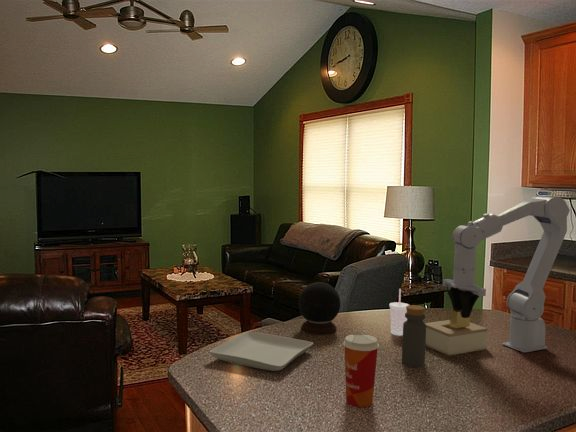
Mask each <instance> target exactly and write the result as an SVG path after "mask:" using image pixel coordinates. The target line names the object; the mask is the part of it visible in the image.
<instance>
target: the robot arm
mask: <svg viewBox="0 0 576 432" xmlns="http://www.w3.org/2000/svg"><path fill="white" fill-rule="evenodd" d="M570 211H571V210H570V207H569V206H568V204H567V202H566V200H565V199H563V198H562V197H560V196H544V195H535V196H533V197H530V198H527V199H525V200H524V201H522V202H520V203H518V204H517V205H514V206H513V207H511V208H509V209H507V210H505V211H503V212H501V213H499V214H497V215H496V214H495V213H483V214H482V217H481V218H478V219H476V220H473V221H472V220H470V221H468V222H467V225H461V224H460V225H459V226H457V227H455V229H454V230H453V232H452V234H451V235H450V237H451V240H452V242H453V243H454V254H453V273H452V275H453V277H452V279H450V278H445V279H444V278H443V279H442V286H443V287H448V288H450V289H446V293H447V295H448V296H449V299H450V301H451V302H450V303H451V305H452V309H459V308H462V316H463V318H469V317H470V318H471V313H472V311H473V308H474V305H476V302H477V300H478V299H479V298H480V297H486V296H487V288H483V287H481V286H479V285H477V284H475V276H476V258H477V247H478V246H479V244H480V243H481V242H482V241H484V240H486V239H487V238H491V237H493V236H494V235H496V234H499V233H501V232H502V230H503V228H504V226H506V225H508V224H511V223H513V222H516V221H518V220H521V219H523V218H526V217H528V216H529V217H530V216H532V217H533V218H534V219H535V220H536V221H537V222H538V223H539V224H540V226H541V227H542V230H543V233H542V234H541V235H542V236H541V238H540V240H539V243H538V244H537V247H536V250H535V251H534V254H533V256H532V259H531V261H530V264H529V266H528V268H527V271H526V272H525V275H524V278H523V280H522V281H521V282H519V283H517V284H516V285H515V287H514V288H513V291H511V292H510V293H509V294H508V296H507V298H506V306H507V308H508V309H509V310H510V320H509V321H510V322H509V341H505V342H502V343H501V344H502V345H503V346H506V347H508V348H511V349H513V350H516V351H518V352H519V351H520V352H521V353H530V352H536V351H540V350H546V349H547V348H548V346H546V345H545V344H546V343H545V342H546V341H545V340H546V322H545V320H544V319H543V318H542V317H541V316H542V315H543V314H544V311H545V302H546V301H545V300H546V298H547V296H546V294H545V291H544V286H545V284H546V281H547V279H548V277H549V275H550V272H551V270H552V267H553V265H554V262H555V261H556V258H557V255H558V253H559V251H560V248H561V246H562V244H563V242H564V239H565V238H566V237H565V236H566V234H567V232H568V231H567V230H568V215H569V214H570Z"/></svg>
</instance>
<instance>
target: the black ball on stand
mask: <svg viewBox="0 0 576 432" xmlns="http://www.w3.org/2000/svg"><path fill="white" fill-rule="evenodd" d="M340 309H341V298H340V295H339V292H338V291H337V290H336V289H335V287H334V286H332V285H331V284H329V283H327V282H323V281H317V282H316V281H315V282H313V283H309V284H307V286H305V287H304V288H303V289H302V291H301V292H300V294H299V297H298V310H299V313H300V314H301V316H302V317H303V318H304V319H305V321H304V322H303V323H302V324H301V325H300V330H301V331H302V332H304V333H306V334H309V335H316V336H323V335H324V336H325V335H326V336H328V335H331V334H335V333H336V332H337V328H338V327H337V326H336V325H335V323H334V322H332V321H333V320H335V318H336V317H337V316H338V314H339V313H340Z"/></svg>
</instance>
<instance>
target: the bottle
mask: <svg viewBox="0 0 576 432" xmlns="http://www.w3.org/2000/svg"><path fill="white" fill-rule="evenodd" d="M425 309H426V308H425V307H424V306H422V305H415V304H412V305H411V304H409V305H408V306H406V310H407V312H406V313H405V318H407V321H405V322H404V323H403V335H402V343H401V345H402V346H401V363H402V365H404V366H406V367H409V368H422V367H424V366H425V365H426V364H425V363H426V347H427V346H426V324H425V321H423V320H425V319H426V314H425Z"/></svg>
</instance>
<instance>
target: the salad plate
mask: <svg viewBox="0 0 576 432" xmlns="http://www.w3.org/2000/svg"><path fill="white" fill-rule="evenodd" d="M313 345H314V342H313V341H309V340H303V339H297V338H293V337H286V336H281V335H274V334H269V333H263V332H256V331H245V332H244V333H241V334H240V335H237V336H234V337H233V338H231V339H229V340H227V341H225V342H223V343H222V344H220V345H217V346H216V347H214V348H212V349H210V350H209V351H208V352H209V354H210V355H211V356H212V357H214V358H215V359H217V360H221V361H225V362H227V363H230V364H234V365H239V366H243V367H244V366H245V367H247V368H248V367H249V368H254V369H257V370H258V369H259V370H263V371H271V372H279V371H281V370H283V369H284V368H285V367H286V366H288V365H289V364H290V363H291V362H293V361H294V360H295V359H297V358H298V357H300V356H301V355H303V354H304V353H306V352H307V351H309V349H311V348H312V346H313Z"/></svg>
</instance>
